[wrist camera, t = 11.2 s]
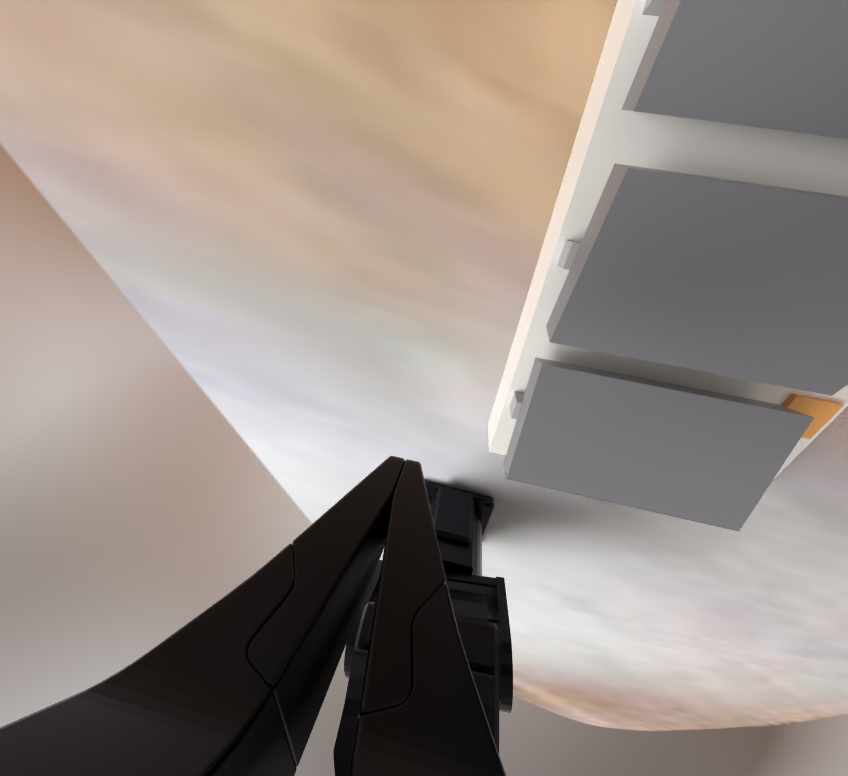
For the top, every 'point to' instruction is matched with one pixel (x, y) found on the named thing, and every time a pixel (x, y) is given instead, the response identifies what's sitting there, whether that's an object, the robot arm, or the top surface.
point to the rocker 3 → (649, 443)
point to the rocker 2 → (713, 279)
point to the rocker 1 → (748, 64)
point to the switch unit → (670, 151)
